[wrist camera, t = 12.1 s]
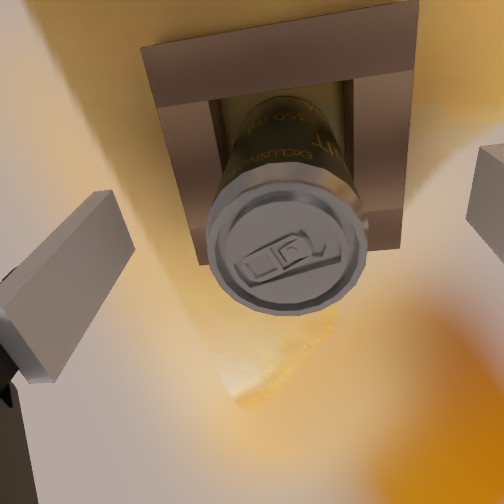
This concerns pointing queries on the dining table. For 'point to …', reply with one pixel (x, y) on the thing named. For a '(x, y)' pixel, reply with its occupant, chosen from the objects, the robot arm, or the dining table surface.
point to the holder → (290, 76)
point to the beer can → (286, 214)
